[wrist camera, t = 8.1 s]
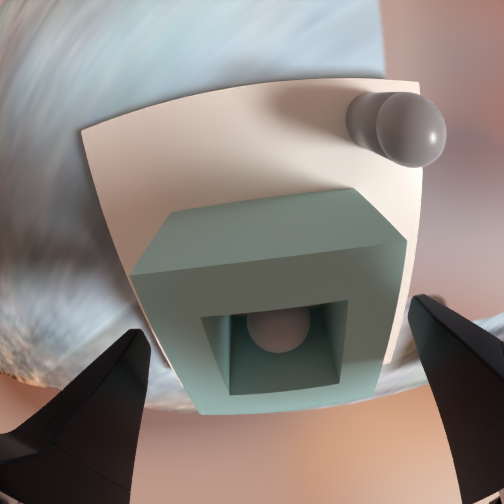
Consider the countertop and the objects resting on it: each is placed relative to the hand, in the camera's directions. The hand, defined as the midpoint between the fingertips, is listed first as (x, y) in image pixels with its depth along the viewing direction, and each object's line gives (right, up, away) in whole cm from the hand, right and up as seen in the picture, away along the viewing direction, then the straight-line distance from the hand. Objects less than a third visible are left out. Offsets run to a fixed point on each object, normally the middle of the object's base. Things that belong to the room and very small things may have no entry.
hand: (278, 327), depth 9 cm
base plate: (0, +2, +3) cm, 4 cm away
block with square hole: (0, +1, +2) cm, 3 cm away
